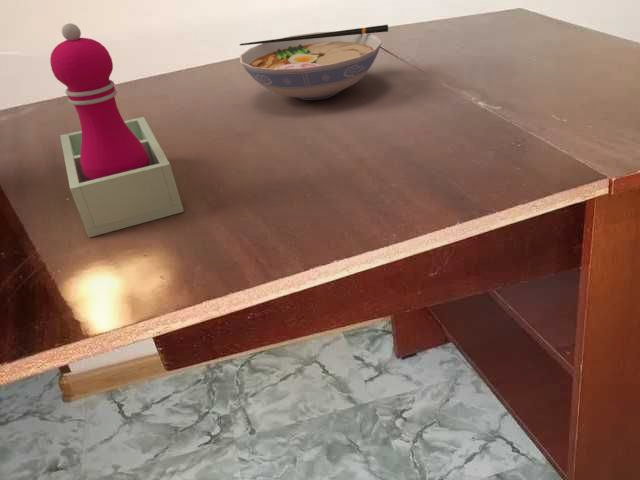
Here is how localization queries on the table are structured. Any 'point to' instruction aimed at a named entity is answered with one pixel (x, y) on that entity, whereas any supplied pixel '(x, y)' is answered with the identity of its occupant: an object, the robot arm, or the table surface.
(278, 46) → the ramen bowl
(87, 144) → the pepper mill
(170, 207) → the green divided box
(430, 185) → the table surface
